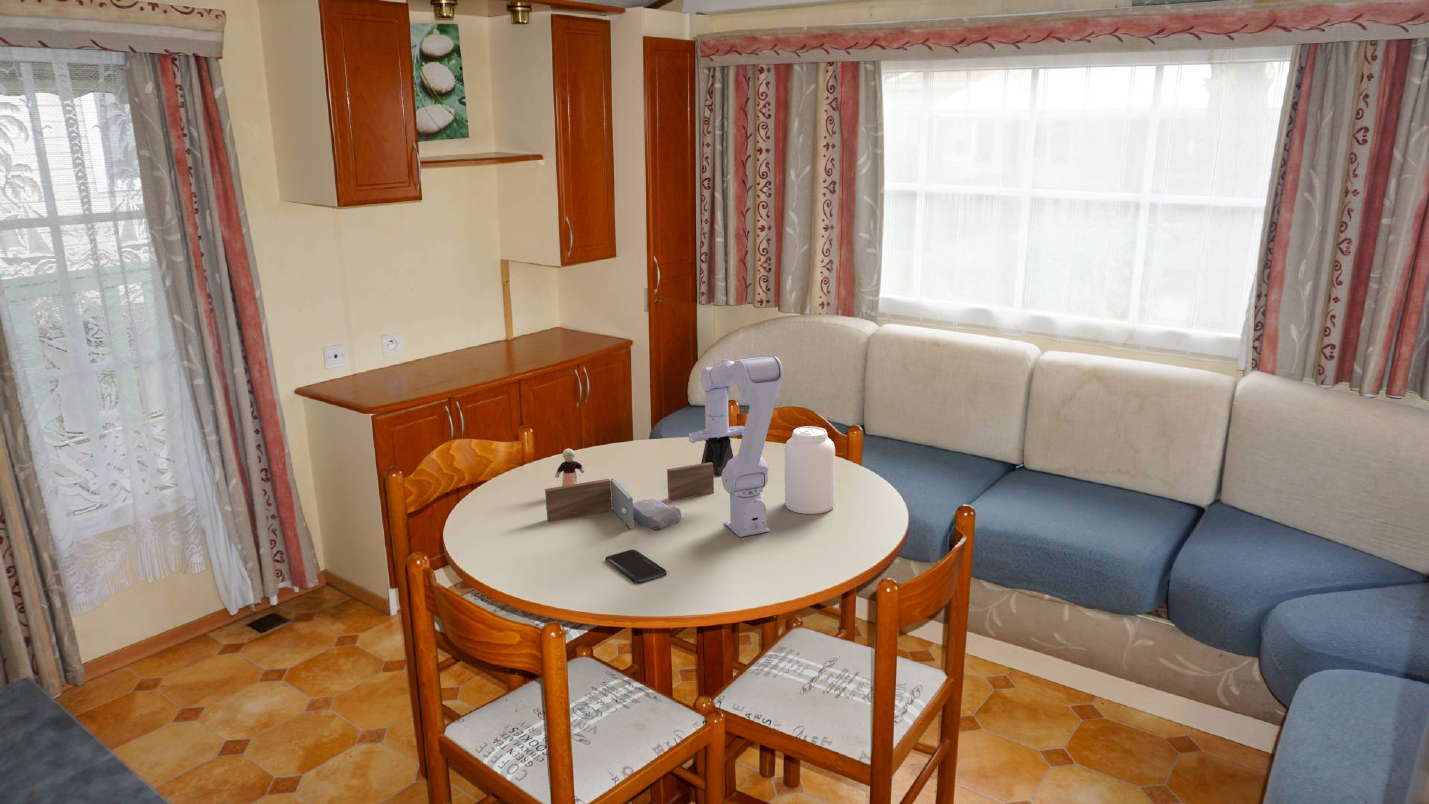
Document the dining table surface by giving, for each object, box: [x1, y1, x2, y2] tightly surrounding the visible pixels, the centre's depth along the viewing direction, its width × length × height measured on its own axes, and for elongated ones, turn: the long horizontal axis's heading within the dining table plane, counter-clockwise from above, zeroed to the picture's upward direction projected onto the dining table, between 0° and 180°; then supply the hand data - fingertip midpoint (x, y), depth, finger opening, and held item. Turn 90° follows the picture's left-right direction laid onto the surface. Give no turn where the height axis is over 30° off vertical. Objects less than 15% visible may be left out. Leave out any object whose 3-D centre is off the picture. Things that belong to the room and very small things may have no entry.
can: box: [784, 425, 836, 515], centre depth 245 cm, size 12×12×20 cm
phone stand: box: [700, 442, 734, 477], centre depth 273 cm, size 9×6×12 cm, turn 36°
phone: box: [605, 549, 667, 585], centre depth 215 cm, size 8×1×15 cm
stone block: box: [633, 498, 682, 530], centre depth 241 cm, size 12×5×10 cm
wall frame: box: [544, 462, 715, 522], centre depth 249 cm, size 2×44×8 cm, turn 113°
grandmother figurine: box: [554, 447, 585, 486], centre depth 258 cm, size 8×4×13 cm, turn 123°
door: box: [610, 478, 635, 529], centre depth 241 cm, size 15×2×8 cm, turn 23°
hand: (718, 465), depth 247 cm, fingers closed
